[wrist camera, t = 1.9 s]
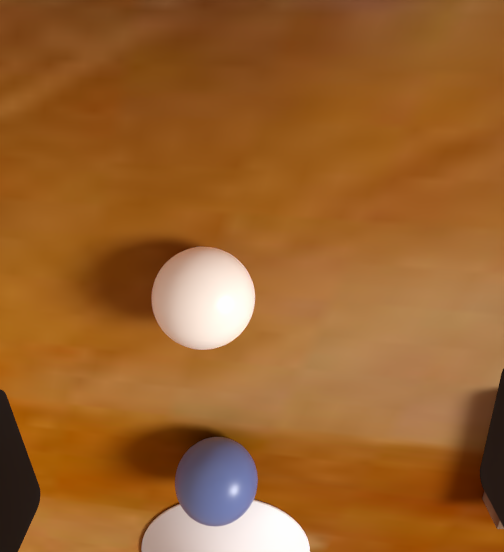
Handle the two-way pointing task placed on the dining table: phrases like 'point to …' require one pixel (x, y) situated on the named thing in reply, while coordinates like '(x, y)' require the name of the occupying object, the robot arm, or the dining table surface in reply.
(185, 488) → the object ball
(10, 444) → the robot arm
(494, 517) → the brown wooden tray
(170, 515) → the white round disc
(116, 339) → the dining table surface
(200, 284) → the cue ball
